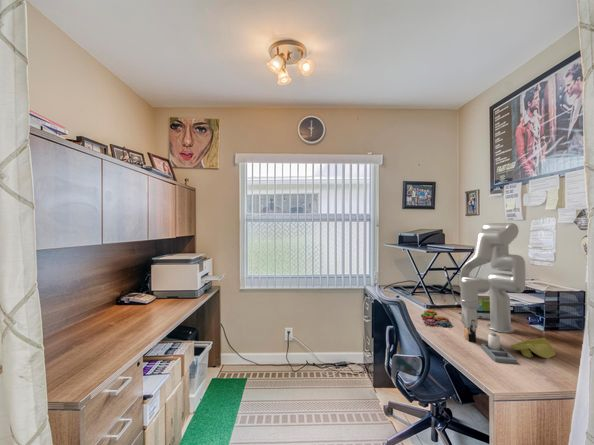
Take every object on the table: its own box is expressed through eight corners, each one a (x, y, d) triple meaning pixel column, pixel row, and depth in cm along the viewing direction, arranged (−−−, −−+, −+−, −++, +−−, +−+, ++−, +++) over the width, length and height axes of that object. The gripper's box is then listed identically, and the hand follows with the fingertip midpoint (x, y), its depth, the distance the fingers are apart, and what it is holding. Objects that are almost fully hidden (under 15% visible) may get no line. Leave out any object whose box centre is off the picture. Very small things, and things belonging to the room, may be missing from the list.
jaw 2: (487, 348, 136) (486, 331, 136) (497, 349, 135) (497, 332, 135) (490, 352, 132) (490, 335, 132) (501, 353, 131) (501, 335, 131)
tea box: (472, 318, 184) (471, 295, 184) (465, 314, 194) (464, 291, 194) (497, 319, 182) (497, 295, 183) (489, 314, 192) (488, 292, 192)
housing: (480, 348, 138) (480, 343, 138) (501, 350, 136) (501, 345, 136) (493, 363, 123) (493, 357, 123) (518, 366, 121) (518, 360, 121)
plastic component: (524, 340, 142) (547, 337, 135) (532, 357, 139) (557, 354, 131) (506, 347, 131) (530, 343, 124) (514, 365, 128) (540, 362, 121)
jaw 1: (464, 339, 150) (463, 324, 150) (473, 340, 149) (473, 324, 149) (466, 342, 146) (466, 327, 146) (476, 343, 145) (476, 327, 145)
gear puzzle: (418, 312, 201) (418, 306, 202) (444, 314, 197) (443, 307, 197) (424, 326, 172) (424, 319, 172) (455, 329, 167) (454, 322, 167)
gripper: (456, 299, 157) (457, 333, 157) (466, 307, 141) (467, 345, 140) (472, 300, 155) (472, 334, 155) (483, 308, 139) (485, 347, 138)
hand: (470, 339), depth 147 cm, fingers open, 5 cm apart
